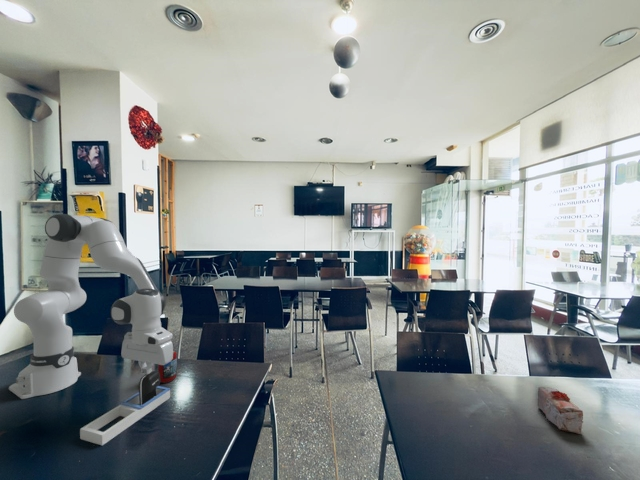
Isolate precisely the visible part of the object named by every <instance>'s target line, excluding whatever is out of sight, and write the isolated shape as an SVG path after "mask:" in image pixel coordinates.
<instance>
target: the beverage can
mask: <svg viewBox="0 0 640 480" xmlns="http://www.w3.org/2000/svg"><path fill="white" fill-rule="evenodd" d="M177 357H178V354H177V352H176V349H174V348H173V359H172V360H171V362H169V363H167V364H165V365H158V364H157V365H158V366H157V367H158V368H157V369H158V372H159V373H160V383H163V384H164V383H169V382H172V381H173V380H174V379H176V378H177V373H178V372H177V371H178V370H177V366H178V361H177V359H178V358H177Z"/></svg>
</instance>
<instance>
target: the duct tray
mask: <svg viewBox="0 0 640 480" xmlns="http://www.w3.org/2000/svg"><path fill="white" fill-rule="evenodd" d="M156 394H157V396H155V397H154V398H152V399H151V400H149V401H148V402H146V403H144V404H143V405H140V401H139V391H138V392H137V393H135V394H133V395H131V396H130V397H129V398H127V399H125V400H123V401H122V402H120V403H119V405H117V406H115V407H114V408H112V409H111V410H109V411H107V412H106V413H104V414H103V415H101V416H99V417H97V418H96V419H94V420H93V421H91V422H89V423H88V424H86V425H84V426H83V427H81V428H79V436H80V437H79V439H80V440H82V441H85V442H90V443H93V444H96V445H100V446H105V444H107V443H108V442H110V441H111V440H112V439H113V438H115V437H117V436H118V435H119V434H121V433H122V432H123V431H125V430H126V429H128V428H129V427H131V426H132V425H134V424H135V423H136V422H138V421H139V420H141V419H142V418H144V417H145V416H146V415H148V414H149V413H151V412H152V411H153V410H155V409H156V408H158V407H159V406H161V405H162V404H163V403H164V402H166V401H168V400H169V399H170V398H171V388H170V387H165V386H160V385H158V386H157V387H156ZM119 417H123V419H121V420H119V421H118V422H117V423H115V424H113V425H112V426H111V427H109V428H107V429H106V430H104V431H101V430H100V429H102V428H103V427H104V426H106V425H108V424H109V423H110V422H112V421H115V419H117V418H119Z"/></svg>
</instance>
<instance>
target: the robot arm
mask: <svg viewBox="0 0 640 480" xmlns="http://www.w3.org/2000/svg"><path fill="white" fill-rule="evenodd" d="M44 225H45V226H44V231H45V234H46V235H47V237H48V238H47V240H46V244H45V247H44V249H43V250H44V251H43V255H42V259H41V266H40V269H39V274H40V277H42V278H43V279H44V280H46V283H47V286H48V287H47V290H46V291H41V292H37V293H33V294H31V295H28V296H26V297H24V298H22V299H20V300H19V301H17V302H16V304H15V305H14V307H13V308H14V309H13V314H14V316H15V319H16V320H18V322H21V323H23V324H26V326H28V328H29V330H30V331H31V334H32V339H33V340H32V341H33V343H32V344H33V353H32V354H30V361H29V364H28V365H27V366H26V367H25V368H23V369H22V370H21V371H19V373H18V376H17V377H16V378H15V383H12V384H11V385H9V387H8V390H9V391H10V392H12V393H13V394H14V395H16V396H17V397H18V398H19V399H21V400H26V399H30V398H33V397H38V396H44V395H45V396H46V395H48V394H52V393H56V392H59V391H61V390H64V389H66V388H69V387H71V386H72V385H74V384H75V383H76V382H77V381H78V378H79V377H80V376H81V375H82V372H81V371H79V370H78V360H77V357H75V347H74V346H73V328H72V327H71V326H69V325H67V324H66V323H65V322H64V317H63V315H65V314H68V313H71V312H74V311H76V310H77V309H79V308H81V307H82V306H83V305H84V304H85V303H86V301H87V293H86V291H85V290H84V289H83V288H82V287H81V284H80V282H79V280H80V279H79V270H80V265H81V258H82V252H83V247H84V245H86V244H87V247H88V250H89V254H90V256H91V259H92V261H93V263H94V264H95V265H96V266H97V267H99V268H101V269H102V270H105V271H109V272H116V273H120V274H124V275H126V276H128V277H130V278H131V279H132V280H133V282H134V284H135V285H136V286H137V290H135V291H134V292H133V293H132V294H131V295H127V296H125V297H122V298H119V299H116V300H115V301H114V302H113V304H112V306H111V307H110V317H111V320H112V321H114V323H116V324H117V325H128V324H130V325H132V327H131V331H128V332H126V333H125V334H124V338H123V340H122V345H121V353H120V354H121V357H122V359H125V360H132V361H136V362H137V361H138V366H139V367H140V372H141V374H144V375H145V374H149V373H151V372H152V371H153V369H152V368H153V366H154V365H165V364H167V363H169V362H171V360H172V359H173V349H174V345H173V342H172V339H173V336H174V335H173V333H172V332H170V331H169V330H167V329H165V328H164V327H162V322H161V316H162V313H163V312H164V311H165V308H166V305H167V301H166V297H165V296H164V294H163V293H162V292H161V291H160V290H159V289H158V288H157V285H156V284H155V282H154V281H153V278H152V277H151V275H150V273H149V272H148V270H147V269H146V267H145V265H144V264H143V261H141V260H140V259H139V258H137V256H135V255H133V253H132V252H131V251H130V250H129V249H128V247H127V245H126V243H125V240H124V238H123V236H122V234H121V232H120V231H119V229H118V227H117V226H116V225H115V223H113V221H111V220H110V219H106V218H103V217H96V216H91V215H81V214H79V215H78V214H77V215H76V214H68V213H57V214H52V215H51V216H50V217H49V218H47V220H46V221H45V224H44Z"/></svg>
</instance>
